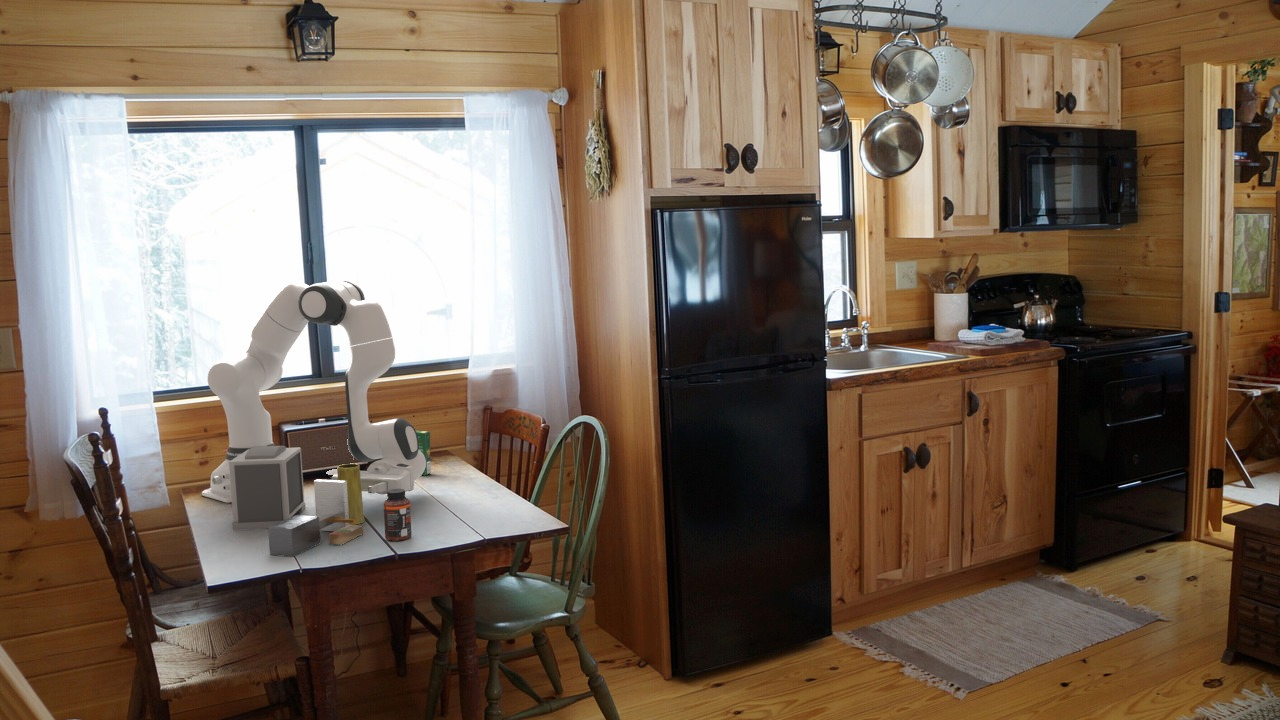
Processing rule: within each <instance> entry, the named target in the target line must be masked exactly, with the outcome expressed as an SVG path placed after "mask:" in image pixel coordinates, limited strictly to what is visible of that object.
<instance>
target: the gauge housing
mask: <svg viewBox="0 0 1280 720" xmlns="http://www.w3.org/2000/svg"><path fill="white" fill-rule="evenodd" d="M267 531H268V532H267V533H268V545H269V555H270V556H277V555H284V556H283V557H289V556H294V557H296V556H297V554H298V555H300V554H302V553H304V552H306V551H308V550H310V549H312V548H314V547H313V546H315V545H317V544H319V543H321V530H320V526H319V517H316V515H315V516H314V515H313V516H312V515H301V514H300V515H299V514H296V515H293V516H292V517H291V518H289V519H286V520H284V521H282V522H279V523H277V524H274V525H272V526H270V527H268V529H267ZM319 545H320V544H319ZM317 546H318V545H317ZM311 547H312V548H311ZM315 547H316V546H315ZM309 548H310V549H309ZM305 550H306V551H305ZM301 552H302V553H301ZM299 553H300V554H299ZM295 555H296V556H295Z"/></svg>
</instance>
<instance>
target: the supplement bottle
mask: <svg viewBox="0 0 1280 720" xmlns="http://www.w3.org/2000/svg"><path fill="white" fill-rule="evenodd" d="M386 497H387V498H386V499H385V500H384V502H383V521H384V522H383V523H384V535H385V539H386V540H387V541H389V540H392V541H391V542H399V540H402V541H406V540H408V539H410V538H411V537H412V518H411V502H410V499H409V498H407V496H406V492H405V490H404V489H391V490H388V491H387V494H386Z"/></svg>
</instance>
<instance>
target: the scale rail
mask: <svg viewBox="0 0 1280 720" xmlns="http://www.w3.org/2000/svg"><path fill="white" fill-rule="evenodd" d="M361 534H363V535H364V527H363V525H361V524H358V525H348V526H345V527H343V528H341V529H339V530H337V531H332V532H331V533H329V536H328V545H329V544H338V545H337V546H340V545H341V544H343V543H345V542H347V541H349V540H351V539H353V538H355V537H357V536H359V535H361ZM361 536H362V535H361ZM359 537H360V536H359ZM357 538H358V537H357ZM355 539H356V538H355ZM353 540H354V539H353ZM351 541H352V540H351ZM349 542H350V541H349ZM347 543H348V542H347ZM339 544H340V545H339ZM345 544H346V543H345ZM343 545H344V544H343ZM341 546H342V545H341Z"/></svg>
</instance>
